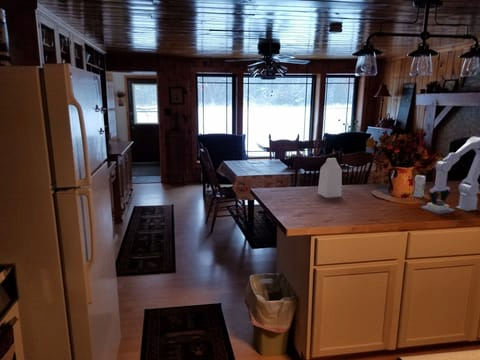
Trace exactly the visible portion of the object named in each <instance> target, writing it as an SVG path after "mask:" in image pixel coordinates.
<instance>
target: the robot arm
mask: <svg viewBox="0 0 480 360" xmlns="http://www.w3.org/2000/svg"><path fill="white" fill-rule="evenodd" d="M470 150H474V152H475V153H476V154H475V156H474V158H473V161H472V164H471V167H470V169H469V171H468V174H467V176H466V177H465V178H464V179H462V181H461V183H459V185H458V191H459V193H460V194H459V202H458V206H455V208H456V209H460V210H463V211H466V212H467V211H468V212H470V211H475V210H478V208H477V206H478V196H477V194H478V193H479V187H480V184H479V182H478V179H479V178H480V177H479V176H480V136H471V137H470V138H469V139H467V140H466V142H465V143H464V144H463V145H462V146H461V147H460V148H458V149H457V151H456V152H449V153H448V155H447V156H446V157H444V158H442V160H439V161H437V162H436V164H435V166H434V168H435V170H436V173H435V174H436V175H435V182H434V186H433V187H432V188H430V189H429V190H428V191H429V192H428V194H429V196H430V200H431V203H433V204H436V201H437V199H438V197H439V195H440V200H443V201H444V203H443V204H446V200H447V199H448V196H449V195H450V194H451V187H449V186H447V179H448V172H449V171H451V168H452V167H453V165H455V164H456V163H457V162H458V161H460V157H462V156H463V155H465V154H466V153H468V152H469V151H470ZM438 192H440V193H438Z"/></svg>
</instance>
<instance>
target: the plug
mask: <svg viewBox="0 0 480 360" xmlns="http://www.w3.org/2000/svg"><path fill="white" fill-rule="evenodd" d="M443 204H445V203H444V201H443V200H441V198H440V199H438V198H437V201H436V204H434V205H437V206H443Z"/></svg>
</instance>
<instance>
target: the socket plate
mask: <svg viewBox="0 0 480 360" xmlns="http://www.w3.org/2000/svg"><path fill="white" fill-rule="evenodd" d="M420 208H421V209H422V210H425V211H429V212H431V213H432V212H433V213H434V214H438V215H441V214H447V213H453V212H455V211H456V210H455V209H453V208H450V205H449V204H446V203H443V206H437V205H434V204H433V203H432V202H427V203H426V205H422V206H420Z"/></svg>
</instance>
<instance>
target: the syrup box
mask: <svg viewBox="0 0 480 360" xmlns="http://www.w3.org/2000/svg"><path fill="white" fill-rule="evenodd" d="M414 181H415V189H414V193H413V192H412V197H413V196H414V198H419V197H420V199H421V198H423V197H424V193H425V186H426V185H425V184H426V175H422V174H421V175H420V174H417V175H415V176H414Z"/></svg>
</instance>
